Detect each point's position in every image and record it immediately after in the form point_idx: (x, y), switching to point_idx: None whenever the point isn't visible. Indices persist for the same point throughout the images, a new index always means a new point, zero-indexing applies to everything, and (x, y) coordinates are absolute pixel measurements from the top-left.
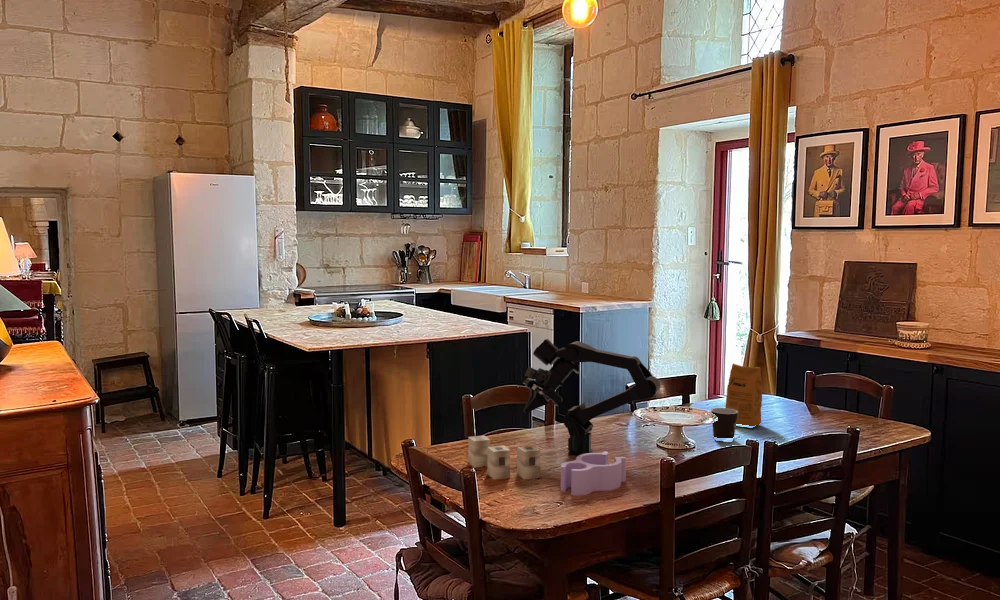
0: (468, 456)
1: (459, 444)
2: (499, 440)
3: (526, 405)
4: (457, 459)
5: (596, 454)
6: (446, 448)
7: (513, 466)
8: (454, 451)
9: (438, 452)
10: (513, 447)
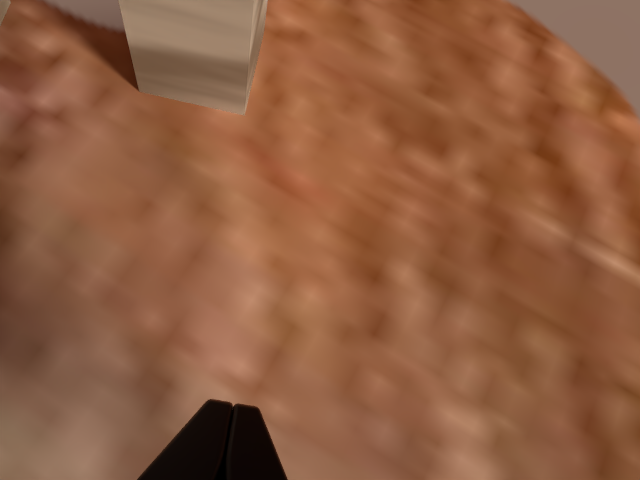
0: (266, 4)
1: (616, 173)
2: (627, 455)
3: (238, 475)
4: (350, 21)
5: None
6: (565, 78)
7: (29, 202)
8: (496, 82)
9: (510, 12)
10: (425, 455)
